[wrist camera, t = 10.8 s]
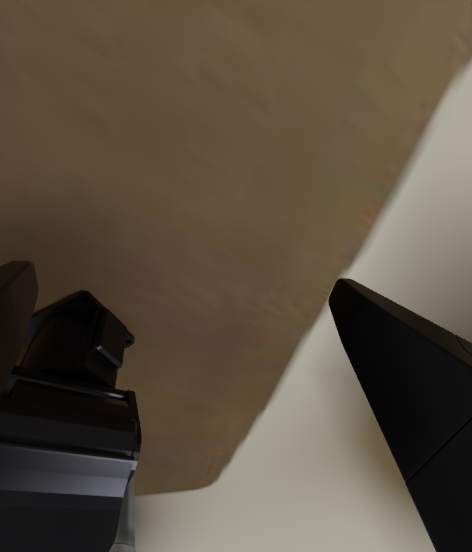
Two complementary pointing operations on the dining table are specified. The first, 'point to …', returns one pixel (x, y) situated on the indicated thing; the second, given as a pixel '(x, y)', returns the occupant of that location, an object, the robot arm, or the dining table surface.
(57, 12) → the dining table surface
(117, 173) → the dining table surface
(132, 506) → the beverage cup
